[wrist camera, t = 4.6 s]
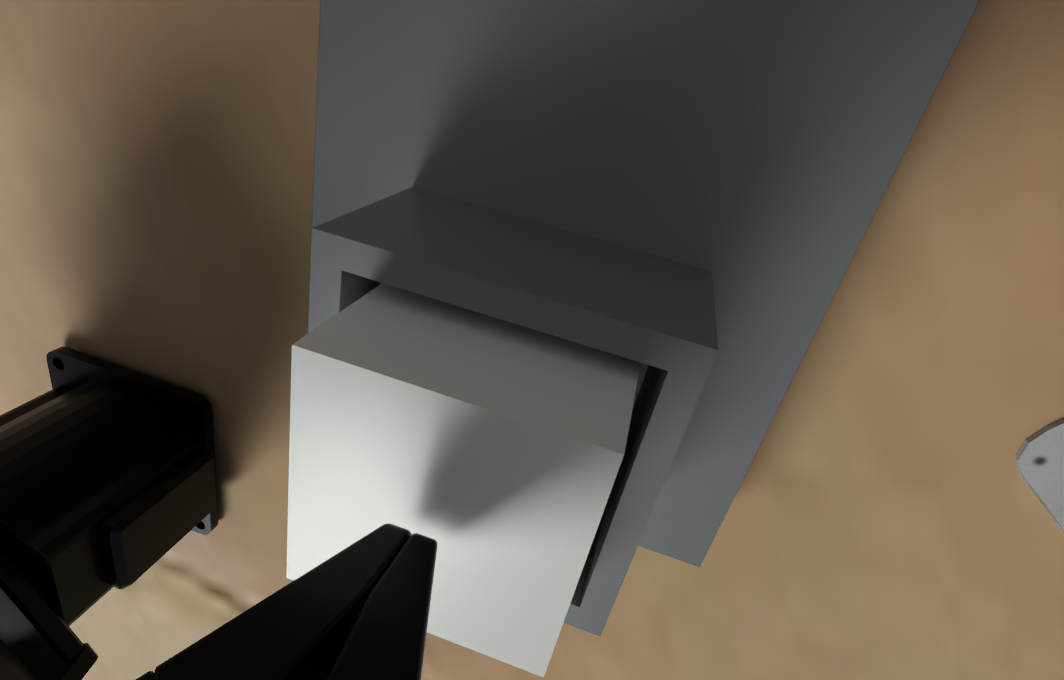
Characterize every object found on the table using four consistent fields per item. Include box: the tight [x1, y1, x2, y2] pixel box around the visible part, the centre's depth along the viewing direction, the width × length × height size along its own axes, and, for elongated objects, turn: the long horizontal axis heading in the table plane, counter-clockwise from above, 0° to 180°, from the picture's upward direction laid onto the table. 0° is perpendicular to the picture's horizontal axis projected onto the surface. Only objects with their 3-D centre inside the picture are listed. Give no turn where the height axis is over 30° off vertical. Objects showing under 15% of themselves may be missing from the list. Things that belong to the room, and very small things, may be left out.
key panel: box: [308, 0, 980, 636], centre depth 11 cm, size 12×22×6 cm, turn 168°
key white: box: [287, 283, 641, 677], centre depth 11 cm, size 5×5×3 cm
